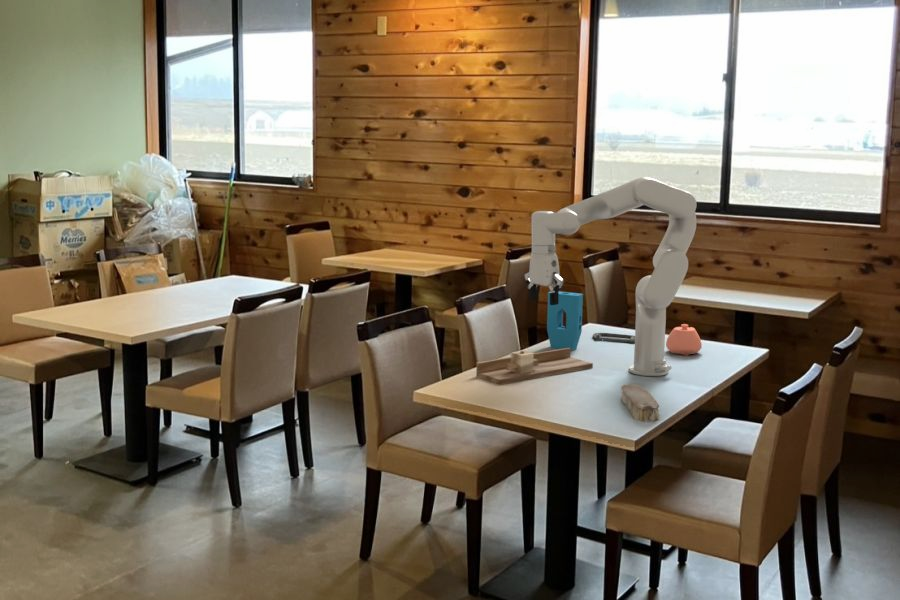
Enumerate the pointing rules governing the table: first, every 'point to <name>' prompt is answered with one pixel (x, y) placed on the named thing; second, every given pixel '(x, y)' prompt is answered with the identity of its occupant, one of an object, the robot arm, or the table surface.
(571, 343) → the block
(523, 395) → the table surface
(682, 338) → the sugar bowl
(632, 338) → the c clamp
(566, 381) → the table surface
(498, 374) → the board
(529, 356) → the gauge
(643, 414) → the beige mottled oblong part
